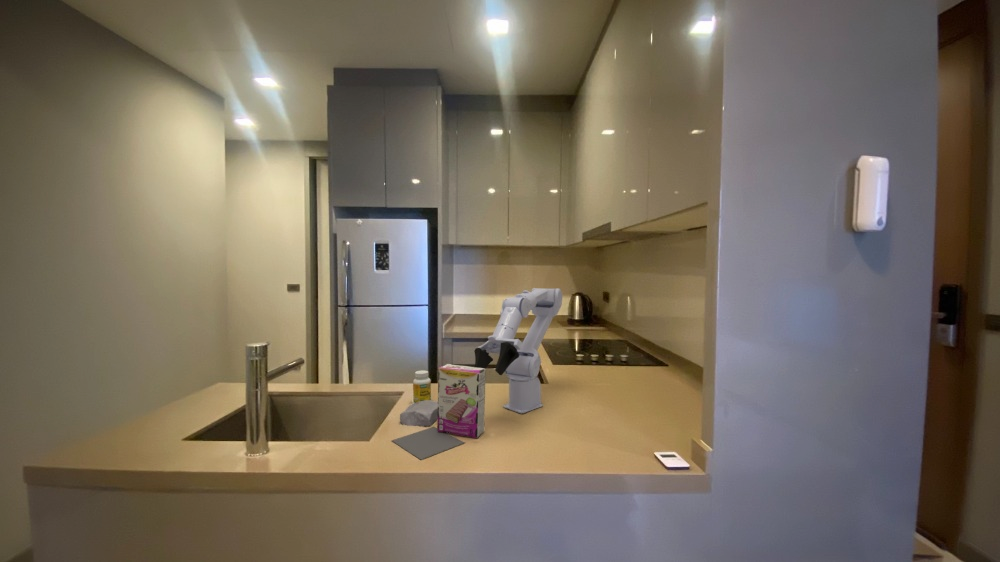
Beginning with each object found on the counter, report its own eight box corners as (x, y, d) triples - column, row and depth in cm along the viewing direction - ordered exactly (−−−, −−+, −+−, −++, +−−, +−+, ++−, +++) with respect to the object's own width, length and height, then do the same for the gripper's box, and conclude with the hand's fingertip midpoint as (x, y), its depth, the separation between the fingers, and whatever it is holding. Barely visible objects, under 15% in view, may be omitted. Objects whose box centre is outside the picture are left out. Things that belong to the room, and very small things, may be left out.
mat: (433, 427, 103) (433, 426, 103) (464, 443, 94) (464, 442, 94) (391, 441, 95) (391, 440, 95) (420, 460, 86) (420, 459, 86)
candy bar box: (436, 432, 99) (437, 367, 99) (445, 425, 104) (446, 363, 104) (477, 439, 96) (478, 372, 95) (485, 431, 100) (486, 367, 100)
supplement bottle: (424, 398, 126) (424, 368, 126) (434, 402, 122) (434, 371, 122) (409, 402, 122) (409, 371, 122) (419, 407, 119) (419, 375, 118)
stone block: (397, 432, 105) (432, 427, 103) (394, 414, 105) (429, 409, 103) (416, 417, 117) (447, 412, 115) (413, 401, 117) (444, 396, 115)
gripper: (477, 327, 111) (457, 367, 102) (516, 317, 101) (498, 361, 93) (492, 342, 114) (475, 383, 105) (532, 334, 104) (516, 378, 96)
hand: (487, 374), depth 99 cm, fingers open, 7 cm apart
